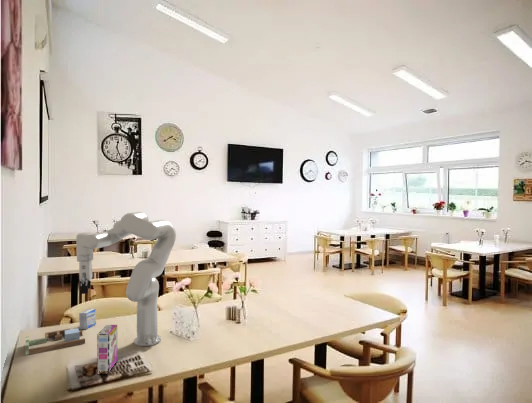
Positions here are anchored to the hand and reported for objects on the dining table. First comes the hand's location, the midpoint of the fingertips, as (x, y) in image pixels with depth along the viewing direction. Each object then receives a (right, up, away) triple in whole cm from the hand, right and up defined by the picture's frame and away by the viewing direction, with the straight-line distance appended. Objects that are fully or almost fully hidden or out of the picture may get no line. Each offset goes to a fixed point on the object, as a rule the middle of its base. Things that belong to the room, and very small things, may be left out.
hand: (85, 291), depth 192 cm
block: (-3, -23, -7) cm, 24 cm away
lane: (-11, -23, -9) cm, 27 cm away
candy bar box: (+26, -24, -35) cm, 50 cm away
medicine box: (-5, -22, +12) cm, 26 cm away
